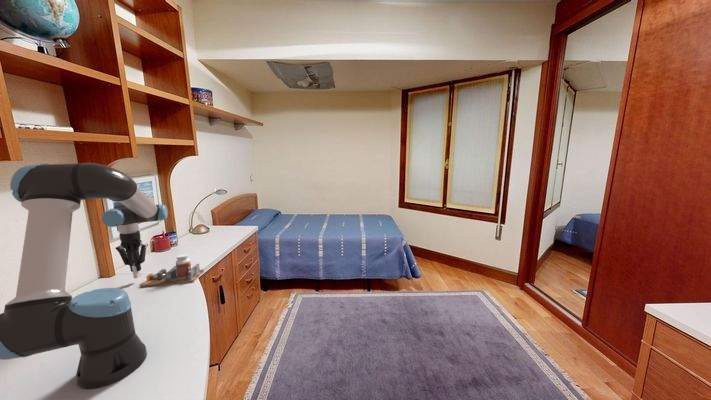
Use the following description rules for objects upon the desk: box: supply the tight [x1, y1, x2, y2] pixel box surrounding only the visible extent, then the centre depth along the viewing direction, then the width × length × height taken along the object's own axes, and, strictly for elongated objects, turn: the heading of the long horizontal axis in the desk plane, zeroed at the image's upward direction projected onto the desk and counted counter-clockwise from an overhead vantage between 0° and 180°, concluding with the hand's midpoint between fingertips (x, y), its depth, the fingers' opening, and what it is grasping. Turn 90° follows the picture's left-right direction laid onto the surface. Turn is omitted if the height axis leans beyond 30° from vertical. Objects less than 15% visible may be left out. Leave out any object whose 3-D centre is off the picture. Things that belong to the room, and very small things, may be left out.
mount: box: [139, 263, 205, 288], centre depth 132 cm, size 13×24×5 cm, turn 101°
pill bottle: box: [175, 253, 192, 278], centre depth 132 cm, size 6×6×11 cm
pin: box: [146, 273, 165, 281], centre depth 131 cm, size 3×8×2 cm, turn 101°
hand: (137, 277), depth 129 cm, fingers closed
